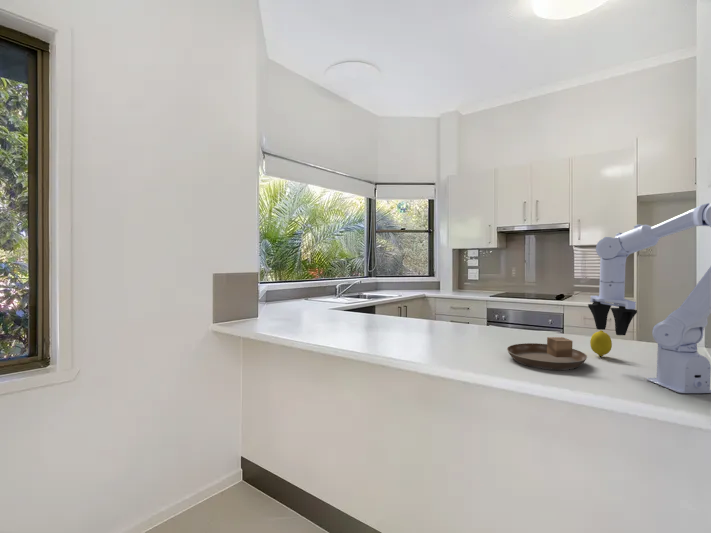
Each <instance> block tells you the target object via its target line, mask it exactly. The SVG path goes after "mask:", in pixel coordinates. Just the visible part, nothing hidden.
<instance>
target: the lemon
mask: <svg viewBox="0 0 711 533" xmlns="http://www.w3.org/2000/svg"><path fill="white" fill-rule="evenodd" d="M589 345H590V349H591V350H592V352H594V354H597V355H598V357H600V356H601V357H603V356H605V355H607V354H609V353H610V352H611V350H612V346H613V343H612V339H611V336H610V335H609V334H608V333H607V332H605V331H604V330H599V331H596V332H594V333H593V334H592V335H591V337H590V340H589ZM601 357H600V358H601Z"/></svg>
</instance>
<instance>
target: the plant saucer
mask: <svg viewBox="0 0 711 533" xmlns="http://www.w3.org/2000/svg"><path fill="white" fill-rule="evenodd" d="M506 350H507V352H508V355H510V357H511V358H512V359H513V360H514V361H515V362H517V363H520V364H522V365H524V364H525V365H524V366H527V365H528V367H531V366H532V368H537V369H541V368H542V369H543V370H552V371H569V369H570V370H574V368H575V369H577V368H579V367H580V366H581V365H583V364H584V363H585V362H586V360H587V358H588V355H587V354H586V353H584V352H583V351H580V350H578V349H576V348H575V349H574V348H572V357H554V356H552V355H550V354H548V353H547V343H536V342H535V343H531V342H530V343H529V342H528V343H517V344H516V343H515V344H512V345H509V346H508V347H507V348H506Z"/></svg>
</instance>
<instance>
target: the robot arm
mask: <svg viewBox="0 0 711 533" xmlns="http://www.w3.org/2000/svg"><path fill="white" fill-rule="evenodd" d="M696 227H710V228H711V202H710V203H709V202H708V203H704V204H700V205H698V206H696V207H694V208H692V209H690V210H687V211H685V212H683V213H681V214H678V215H676V216H674V217H672V218H669V219H666V220H665V221H662V222H660V223H658V224H655V225H653V226H652V225H649V224H640V223H639V224H636V225H633V228H632V229H630V230H628V231H624V232H617V233H615V236H614V237H612V236H605V237H603V238H602V239H600V240H599V241H598V242H597V243H596V246H595V252H596V254H597V256H598V257H600V259H599V261H600V262H599V290H598V292H599V293H598V295H590V303H588V304H587V306H588V309H589V310H590V312H591V315H592V316H593V320H594V324H595V328H596V330H599V331H600V330H602V331H604V330H606V329H607V322H608V315H609V313H610V311H611V312H612V315H613V319H614V330H615V335H616V336H626V334H627V331H628V329H629V326H630V323H631V321H632V320H633V319H634V317H635V316H636V314H638V309H636V306H637V304H636V303H637V302H636V301H634V300H630V299H626V298H625V295H626V294H625V293H626V291H625V290H626V286H625V285H626V264H627V258H628V257H629V256H630V255H631V254H635V253H637V252H640V251H643V250H645V249H648V248H651V247H654V246H656V245H658V243H659V241H660V239H661V238H665V237H668V236H670V235H671V236H672V235H674V234H677V233H680V232H684V231H687V230H690V229H693V228H696ZM710 315H711V266H710V267H708V269H707V270H706V272H705V273H704V275H703V276H702V277H701V278H700V280H699V281H698V283H697V284H696V285H695V286H694V288H693V289H692V291H690V293H689V294H688V296H687V297H686V298H685V299H684V301H683V302H682V304H681V305H680V306H679V307H678V308H676V309H675V310H673V311H672V312H671V313H669V314H668V315H667V317H666V318H665V319H664V320H662V321H659V322H657V323H656V324H655V325H654V326H653V328H652V332H651V333H652V334H651V335H652V338H653V340H654V341H655V343H656V344H657V351H656V355H657V356H656V357H657V358H656V359H657V360H656V377H647V378H646V380H647V381H649V382H651V383H655V384H656V385H659V386H661V387H664V388H666V389H668V390H671V391H673V392H676V393H678V394H711V363H710V361H709V359H708V358H707V357H706V356H704V355H702V354H700V353H699V352H698V346H697V344H698V343H700V342H701V341H702V339H703V336H704V330H705V328H706V327H707V326H708V324H709V322H708V318H709V317H710Z"/></svg>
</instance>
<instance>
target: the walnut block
mask: <svg viewBox="0 0 711 533" xmlns="http://www.w3.org/2000/svg"><path fill="white" fill-rule="evenodd" d="M546 340H547V343H546V344H547V353H548V354H550V355H552V356H554V357H572V349H573V342H574V341H573V340H571V339H568V338H566V337H563V336H561V337H560V336H558V337H557V336H556V337H555V336H551V337H550V336H548V337H546Z"/></svg>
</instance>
